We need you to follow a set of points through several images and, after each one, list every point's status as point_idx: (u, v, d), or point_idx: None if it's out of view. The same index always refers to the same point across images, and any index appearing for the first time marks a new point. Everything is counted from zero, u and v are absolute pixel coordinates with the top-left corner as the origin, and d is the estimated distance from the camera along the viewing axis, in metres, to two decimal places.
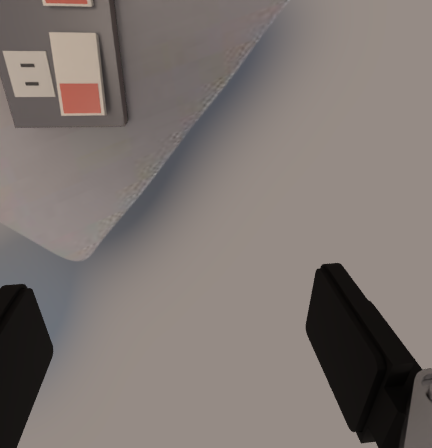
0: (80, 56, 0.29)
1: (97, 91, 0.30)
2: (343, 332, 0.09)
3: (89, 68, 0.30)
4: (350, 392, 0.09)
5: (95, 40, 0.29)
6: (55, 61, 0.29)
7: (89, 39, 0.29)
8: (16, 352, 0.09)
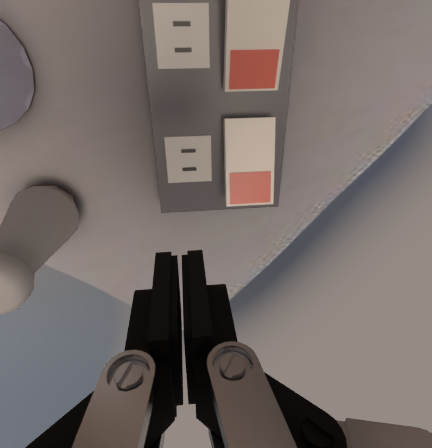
0: (255, 143, 0.26)
1: (269, 179, 0.27)
2: None
3: (264, 155, 0.26)
4: None
5: (274, 125, 0.25)
6: (227, 149, 0.26)
7: (268, 124, 0.25)
8: (178, 307, 0.10)
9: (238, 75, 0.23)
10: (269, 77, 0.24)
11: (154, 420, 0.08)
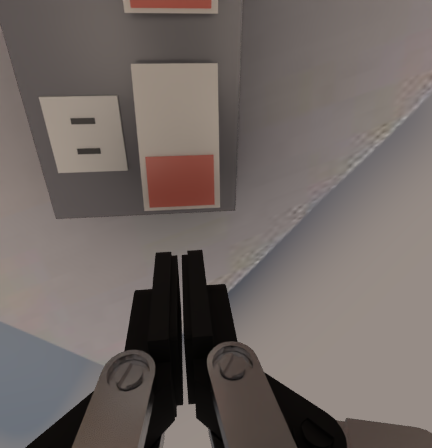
0: (185, 108, 0.16)
1: (211, 168, 0.17)
2: None
3: (201, 127, 0.16)
4: None
5: (216, 77, 0.15)
6: (139, 117, 0.16)
7: (206, 75, 0.15)
8: None
9: None
10: None
11: (154, 420, 0.08)
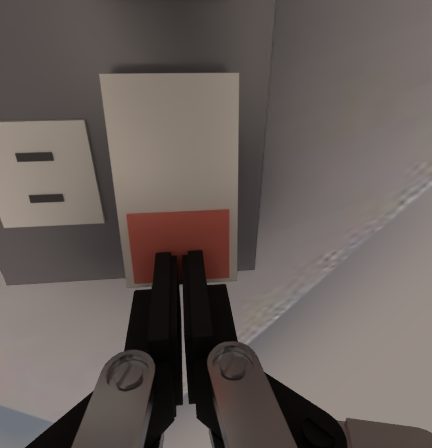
0: (187, 142, 0.10)
1: (226, 228, 0.11)
2: None
3: (211, 170, 0.10)
4: None
5: (235, 95, 0.10)
6: (116, 157, 0.10)
7: (220, 91, 0.10)
8: (178, 307, 0.10)
9: None
10: None
11: (154, 420, 0.08)
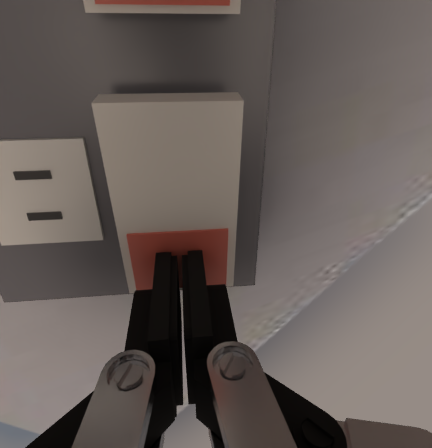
0: (187, 169, 0.10)
1: (224, 245, 0.11)
2: None
3: (211, 195, 0.10)
4: None
5: (239, 123, 0.09)
6: (114, 184, 0.10)
7: (222, 120, 0.09)
8: (178, 307, 0.10)
9: None
10: None
11: (154, 420, 0.08)
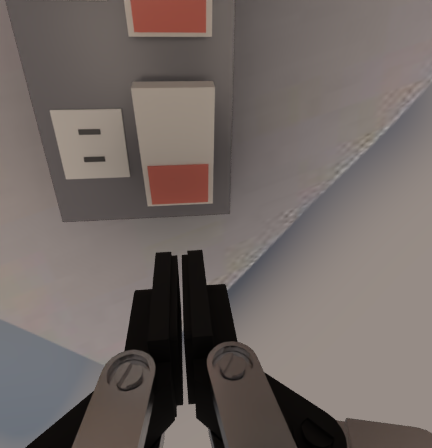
0: (183, 126, 0.17)
1: (206, 175, 0.19)
2: None
3: (197, 142, 0.17)
4: None
5: (212, 100, 0.16)
6: (141, 134, 0.17)
7: (203, 98, 0.16)
8: None
9: (145, 8, 0.15)
10: (195, 13, 0.15)
11: (154, 420, 0.08)
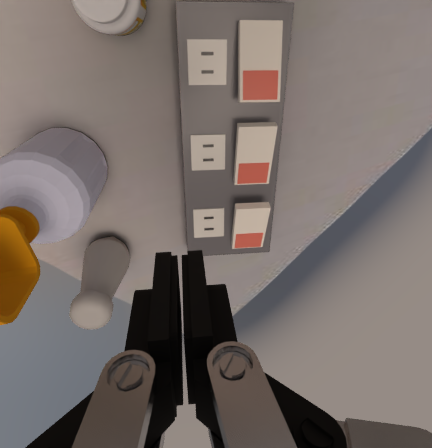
0: (255, 220, 0.38)
1: (261, 236, 0.41)
2: None
3: (259, 225, 0.39)
4: None
5: (269, 211, 0.38)
6: (236, 223, 0.39)
7: (265, 211, 0.38)
8: None
9: (243, 176, 0.36)
10: (263, 177, 0.37)
11: (154, 420, 0.08)
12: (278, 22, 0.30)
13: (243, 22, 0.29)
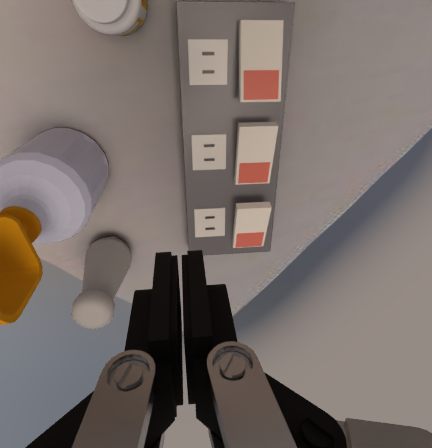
0: (256, 220, 0.39)
1: (262, 236, 0.41)
2: None
3: (260, 225, 0.39)
4: None
5: (270, 211, 0.38)
6: (237, 223, 0.39)
7: (266, 210, 0.38)
8: None
9: (244, 176, 0.37)
10: (264, 176, 0.37)
11: (154, 420, 0.08)
12: (279, 22, 0.30)
13: (244, 22, 0.30)
